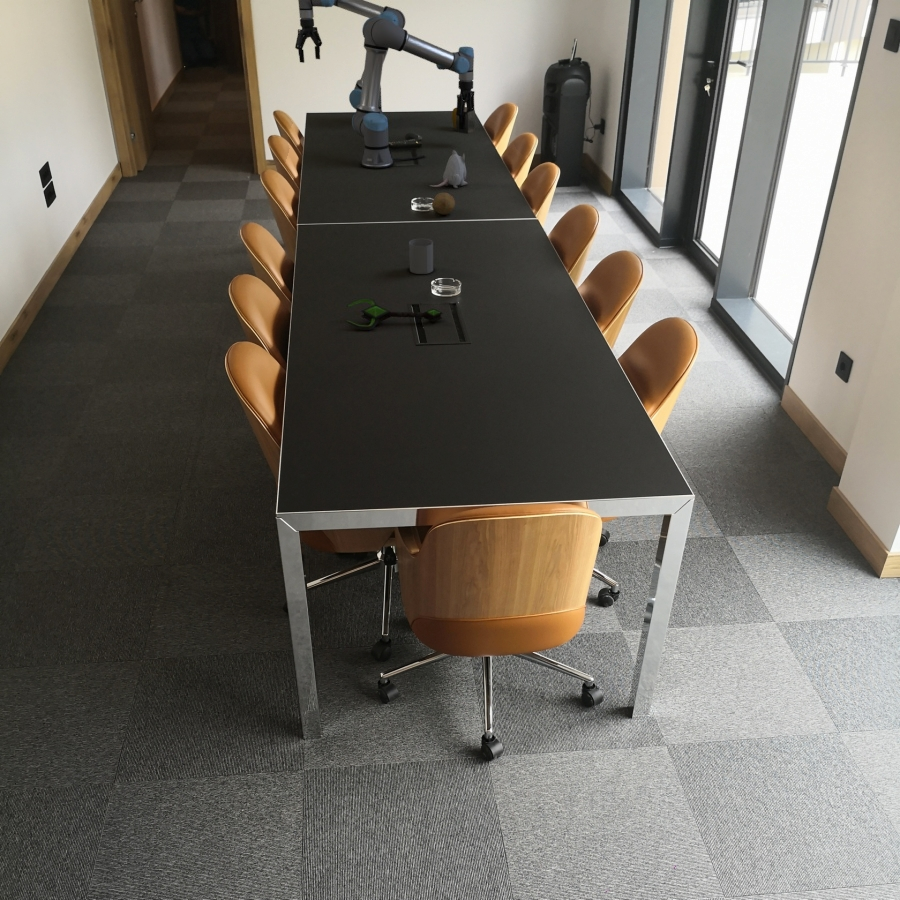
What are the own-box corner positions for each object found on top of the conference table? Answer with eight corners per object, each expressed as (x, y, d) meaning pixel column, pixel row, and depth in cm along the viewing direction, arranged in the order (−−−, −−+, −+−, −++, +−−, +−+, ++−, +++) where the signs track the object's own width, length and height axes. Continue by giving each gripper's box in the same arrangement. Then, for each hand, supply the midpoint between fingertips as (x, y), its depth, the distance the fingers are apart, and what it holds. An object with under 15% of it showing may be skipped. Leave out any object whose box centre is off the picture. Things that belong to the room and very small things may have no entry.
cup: (409, 265, 311) (408, 238, 306) (432, 265, 312) (431, 238, 307) (410, 274, 304) (409, 246, 299) (433, 273, 305) (433, 246, 299)
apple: (471, 132, 486) (471, 108, 479) (451, 132, 486) (451, 108, 479) (470, 128, 495) (471, 104, 488) (452, 128, 495) (452, 104, 488)
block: (462, 129, 456) (462, 108, 451) (474, 131, 453) (474, 110, 447) (455, 132, 452) (456, 110, 446) (467, 133, 448) (468, 112, 443)
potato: (453, 208, 369) (453, 189, 365) (456, 218, 357) (456, 199, 353) (431, 208, 368) (430, 189, 364) (432, 218, 356) (432, 199, 352)
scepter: (442, 294, 271) (346, 291, 269) (443, 324, 264) (344, 322, 262) (441, 307, 276) (346, 304, 274) (442, 337, 269) (345, 335, 267)
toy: (472, 184, 399) (472, 151, 391) (436, 195, 384) (436, 161, 376) (457, 180, 404) (458, 147, 396) (422, 191, 389) (421, 157, 381)
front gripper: (469, 76, 448) (468, 123, 460) (449, 82, 434) (449, 130, 446) (482, 78, 444) (481, 125, 457) (462, 84, 430) (461, 132, 443)
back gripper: (316, 15, 482) (319, 57, 494) (286, 20, 464) (290, 63, 476) (326, 16, 479) (329, 58, 490) (297, 21, 461) (300, 64, 473)
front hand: (465, 127), depth 451 cm, fingers closed on block, 7 cm apart
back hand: (310, 60), depth 483 cm, fingers open, 13 cm apart
